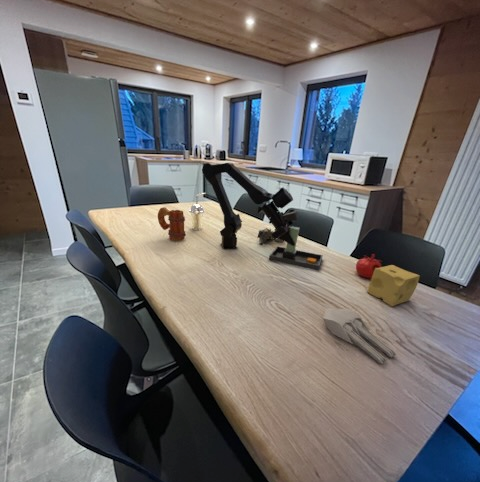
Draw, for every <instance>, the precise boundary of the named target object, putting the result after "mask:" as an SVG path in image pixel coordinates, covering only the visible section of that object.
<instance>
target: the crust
mask: <svg viewBox="0 0 480 482" xmlns="http://www.w3.org/2000/svg"><path fill="white" fill-rule="evenodd" d="M315 262H316V259H314V258H309V257H308V259H307V263H310V264H315Z"/></svg>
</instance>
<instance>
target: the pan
mask: <svg viewBox="0 0 480 482" xmlns="http://www.w3.org/2000/svg"><path fill="white" fill-rule="evenodd" d="M285 249H286V247H283V246H276V247H275V248H274V250H273V251H272V252H271V253H270V255H269V259H268V260H269V261H273V262H278V263H283V264H285V265H286V264H287V265H291V266H297V267H301V268H304V269H305V268H306V269H311V270H315V271H319V269H320V266H321V263H322V260H323V256H324V255H323V254H317V253H314V252H309V251H302V250H297V249H296V250H297V252H296V256H295V258H294V260H291V259H287V258H282V257H283V251H284V250H285ZM308 257H309V258H314V259H316V262H315V264H310V263H307V259H308Z"/></svg>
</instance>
